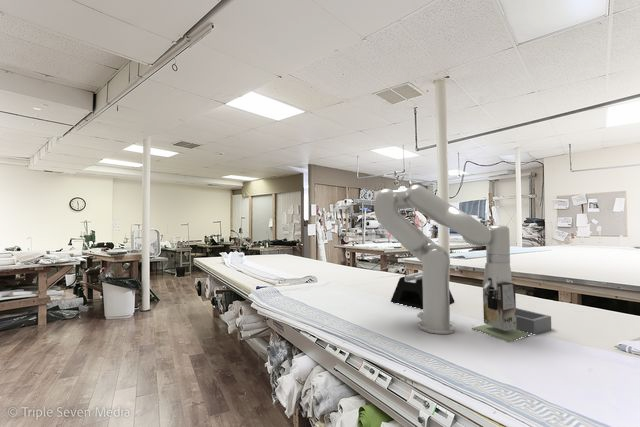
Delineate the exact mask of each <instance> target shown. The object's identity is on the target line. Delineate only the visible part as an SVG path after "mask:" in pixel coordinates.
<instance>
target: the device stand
mask: <svg viewBox="0 0 640 427" xmlns="http://www.w3.org/2000/svg"><path fill="white" fill-rule="evenodd" d="M422 274H423V271H419V272H415V273H410V274H407V275H404V276H401V277H399V280H398V282H397V283H396V287H395V289H394V292H393V294H392V297H391V299H390V303H391V302H393V303H392V304H395V303H399V304H398V305H400V304H403V305H402V306H405V305H407V306H406V307H409V306H412V307H411V308H414V307H416V308H415V309H418V308H420V310H423V285H422ZM454 303H455V299H454V297H453V295H452V292H451V289H450V288H449V304H450V305H451V304H454Z"/></svg>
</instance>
